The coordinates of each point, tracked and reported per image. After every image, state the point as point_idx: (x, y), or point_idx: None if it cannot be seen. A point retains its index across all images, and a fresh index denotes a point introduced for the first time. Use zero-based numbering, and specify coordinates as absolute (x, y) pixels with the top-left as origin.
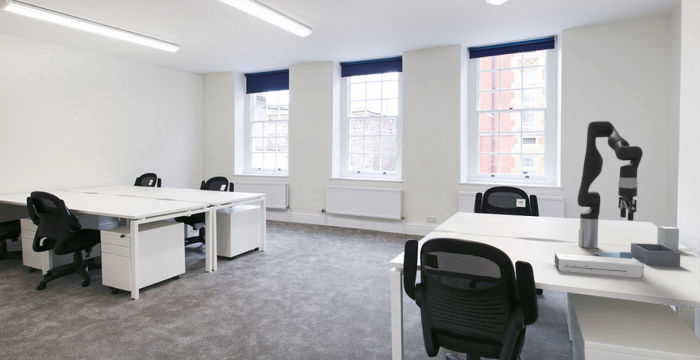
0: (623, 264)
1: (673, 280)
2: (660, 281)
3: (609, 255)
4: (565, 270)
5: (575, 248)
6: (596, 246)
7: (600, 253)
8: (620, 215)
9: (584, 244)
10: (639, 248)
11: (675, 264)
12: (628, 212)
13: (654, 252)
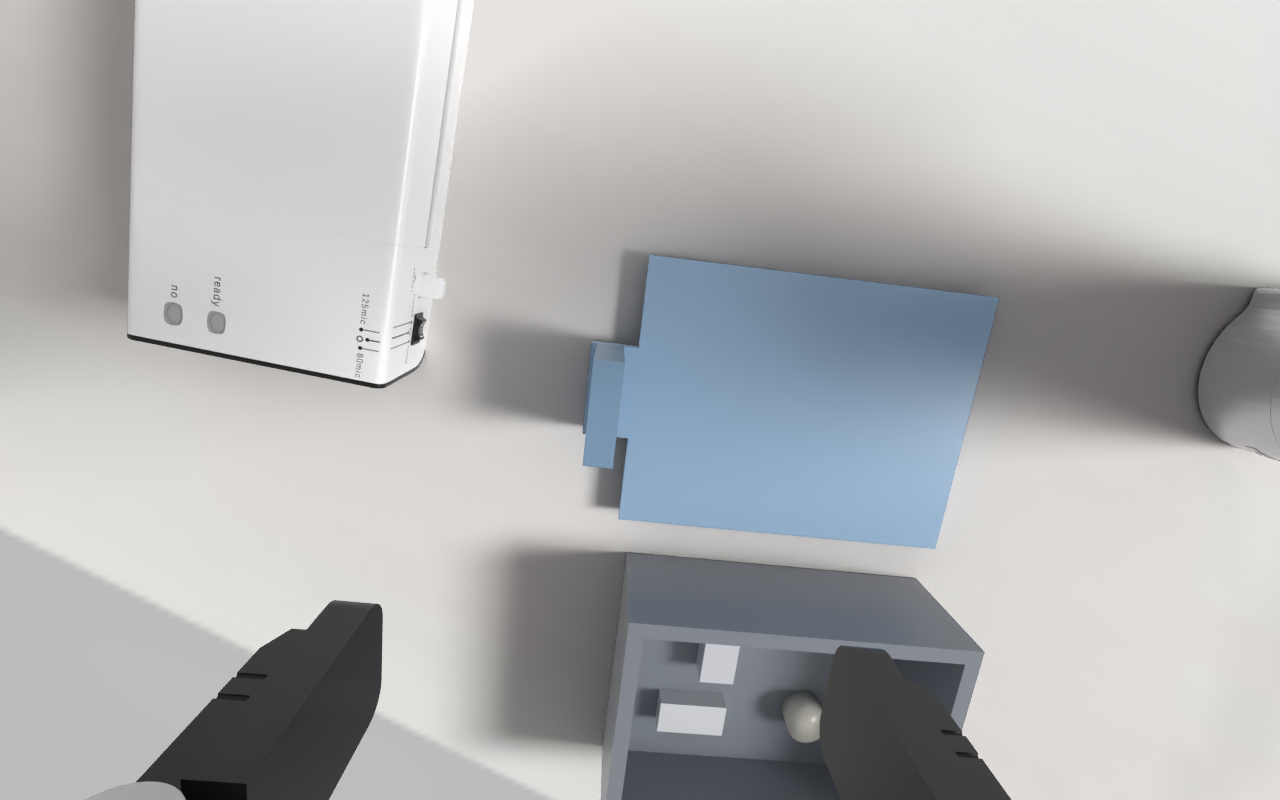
0: (134, 158)
1: (198, 511)
2: (139, 403)
3: (843, 365)
4: None
5: (1224, 203)
6: (1219, 424)
7: (921, 316)
8: (891, 673)
9: (1276, 315)
10: (788, 628)
11: (605, 734)
12: (136, 794)
13: (622, 671)
